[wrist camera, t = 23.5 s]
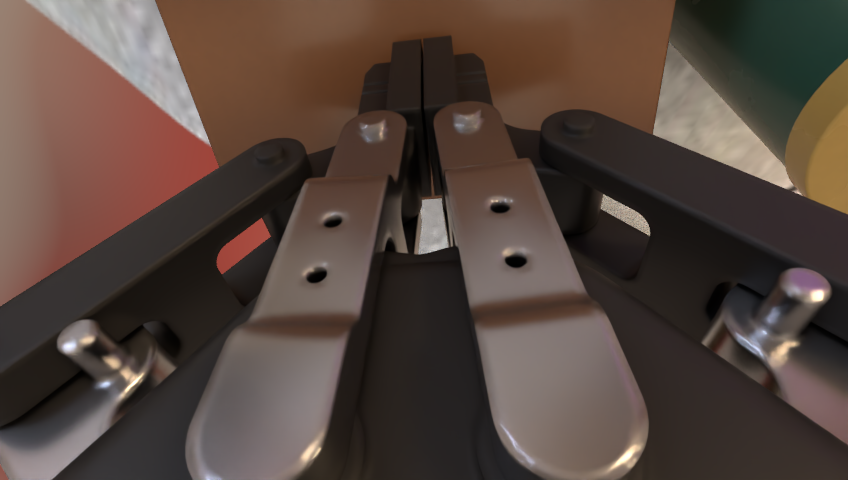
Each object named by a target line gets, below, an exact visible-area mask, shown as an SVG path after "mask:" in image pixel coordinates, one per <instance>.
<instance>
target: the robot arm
mask: <svg viewBox="0 0 848 480" xmlns="http://www.w3.org/2000/svg"><path fill="white" fill-rule="evenodd" d="M431 170H432V178H433V186H434V195H435V196H439V195H441V196H442V204H443V214H444V222H445V229H446V235H447V241H448V247H449V248H445V249H441V250H438V251H434V252H431V253H427V254H418V253H419V243H420V234H421V224H422V219H421V213H420V210H421V207H422V197H429V196H432V187H431ZM603 194H605V195H607V196H608V197H610V198H612V199H614V200H616V201H618V202H620V203H622V204H624V205H625V206H627V207H629V208H631V209H633V210H635V211H637V212H638V213H640V214H641V215H642V216H643V217H644V218H645V220H646V221H647V223H648V224H649V227H650V236H648V235H647V234H645V233H643V232H641V231H639V230H638V229H636V228H634V227H632V226H630V225H629V224H627V223H625V222H623V221H621V220H620V219H618V218H616V217H614V216H612V215H611V214H609V213H607V212H605V211H603V210H601V209H600V207H601V203H602V198H603ZM260 218H262V219H263V221H264V223H265V225H266V227H267V229H268V231H269V233H270V235H271V237H270V238H269V239H267V240H266V241H265V242H263V243H262V244H261V245H260V246H258V247H257V248H256V249H254V250H253V251H252V252H250V253H249V254H248V255H247V256H245V257H244V258H243V259H242V260H240V261H239V262H238V263H236V264H235V265H234V266H233V267H231V268H230V269H229V270H228V271H226V272H225V273H224V274H221V273H220V271H219V270H218V268H217V263H216V260H217V256H218V253H219V252H220V250H221V249H222V247H223V246H225V245H226V244H227V243H228V242H230V241H231V240H232V239H234V238H235V237H236V236H238V235H239V234H240V233H242V232H243V231H244V230H246V229H247V228H248V227H250V226H251V225H252V224H254V223H255V222H256V221H258V220H259V219H260ZM0 464H1V466H2V468H3V469H4V471H5V473H6V475H7V477H8V479H9V480H848V214H846V213H843V212H841V211H838V210H836V209H833V208H831V207H828V206H826V205H824V204H821V203H819V202H816V201H814V200H811V199H809V198H806V197H804V196H801V195H799V194H797V193H794V192H792V191H789V190H787V189H784V188H782V187H779V186H777V185H775V184H772V183H770V182H767V181H765V180H762V179H760V178H757V177H755V176H752V175H750V174H748V173H745V172H743V171H740V170H738V169H735V168H733V167H730V166H728V165H726V164H723V163H721V162H718V161H716V160H713V159H711V158H708V157H706V156H703V155H701V154H699V153H696V152H694V151H691V150H689V149H686V148H684V147H681V146H679V145H677V144H674V143H672V142H669V141H667V140H664V139H662V138H659V137H657V136H654V135H652V134H650V133H647V132H645V131H642V130H640V129H637V128H635V127H632V126H630V125H628V124H625V123H623V122H620V121H618V120H615V119H613V118H610V117H608V116H606V115H603V114H601V113H598V112H594V111H590V110H582V109H571V110H564V111H559V112H556V113H554V114H552V115H550V116H548V117H547V118H546V119H545V120H544V121H543V122H542V124H541V130H540V131H538V130H527V129H520V128H516V127H513V126H510V125H508V124H505V123H504V122H503V119H502V116H501V114H500V112H499V110H498V109H497V108H495V107H494V106H493V102H492V97H491V93H490V88H489V83H488V79H487V74H486V70H485V65H484V61H483V60H482V59H480V58H479V57H478V56H477V55H475V54H474V53H468V54H458V55H454V54H453V46H452V37H451V35H450V36H441V37H432V38H424V39H423V50H422V42H421V39H416V40H407V41H398V42H393V44H392V54H391V62H387V63H378V64H374V65H373V66H372V67H371V68H370V70H369V71H368V72H367V73H366V74H365V78H364V83H363V89H362V95H361V100H360V105H359V111H358V116H356V117H354V118H352V119H351V120H349V121H348V122H347V123H346V124H345V125H344V126H343V128H342V130H341V133H340V136H339V139H338V141H337V144H336V145H335V146H333V147H331V148H328V149H325V150H321V151H318V152H315V153H311V154H308V155H307V152H306V149H305V147H304V145H303V144H302V143H301V142H300V141H298V140H296V139H292V138H275V139H270V140H266V141H263V142H261V143H258V144H256V145H254V146H252V147H251V148H249V149H248V150H246V151H244V152H243V153H241V154H240V155H238V156H236V157H235V158H233V159H232V160H230V161H229V162H227V163H225V164H224V165H222V166H221V167H219V168H218V169H216V170H215V171H213V172H211V173H210V174H208V175H207V176H205V177H203V178H202V179H200V180H199V181H197V182H196V183H194V184H192V185H191V186H189V187H188V188H186V189H185V190H183V191H181V192H180V193H178V194H177V195H175V196H174V197H172V198H170V199H169V200H167V201H166V202H164V203H162V204H161V205H160V206H158V207H156V208H155V209H153V210H151V211H150V212H148V213H147V214H145V215H144V216H142V217H140V218H139V219H137V220H136V221H134V222H133V223H131V224H130V225H128V226H126V227H125V228H123V229H122V230H120V231H118V232H117V233H115V234H114V235H112V236H111V237H109V238H107V239H106V240H104V241H103V242H101V243H100V244H98V245H96V246H95V247H93V248H92V249H90V250H88V251H87V252H85V253H84V254H82V255H81V256H79V257H77V258H76V259H74V260H73V261H71V262H70V263H68V264H66V265H65V266H63V267H62V268H60V269H59V270H57V271H55V272H54V273H52V274H51V275H49V276H48V277H46V278H44V279H43V280H41V281H40V282H38V283H37V284H35V285H34V286H32V287H30V288H29V289H27V290H26V291H24V292H23V293H21V294H19V295H18V296H16V297H14V298H13V299H11V300H10V301H8V302H7V303H5V304H3V305H2V306H0Z"/></svg>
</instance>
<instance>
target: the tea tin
mask: <svg viewBox="0 0 848 480" xmlns="http://www.w3.org/2000/svg"><path fill="white" fill-rule="evenodd" d="M669 42H670V43H671V44H672V45H673V46H674V47H675V48H676V49H677V50H678V51H679V53H680V54H681V55H682V56H683V57H684V58H685V59H686V60H687V61H688V62H689V63H690V64H691V65H692V67H693V68H694V69H695V70H696V71H697V72H698V73H699V74H700V75H701V76H702V77H703V78H704V79H705V81H706V82H707V83H708V84H709V85H710V86H711V87H712V88H713V89H714V90H715V91H716V92H717V93H718V95H719V96H720V97H721V98H722V99H723V100H724V101H725V102H726V103H727V104H728V105H729V106H730V107H731V109H732V110H733V111H734V112H735V113H736V114H737V115H738V116H739V117H740V118H741V119H742V120H743V121H744V123H745V124H746V125H747V126H748V127H749V128H750V129H751V130H752V131H753V132H754V133H755V134H756V136H757V137H758V138H759V139H760V140H761V141H762V142H763V143H764V144H765V145H766V146H767V147H768V148H769V150H770V151H771V152H772V153H773V154H774V155H775V156H776V157H777V158H778V159H779V160H780V161H781V162H782V164H783V165H784V166H785V167H786V171H787V174H788V176H789V179H790V180H791V182H792V183H793V185H794V186H795V187H796V188H797V189H798V191H799V192H800V193H801V194H802V195H803V196H804V197H806V198H809V199H811V200H814V201H816V202H819V203H821V204H824V205H826V206H828V207H831V208H833V209H836V210H838V211H841V212H843V213H846V214H848V0H676V1H675V7H674V13H673V19H672V25H671V30H670V36H669Z"/></svg>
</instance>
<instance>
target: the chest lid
mask: <svg viewBox="0 0 848 480" xmlns="http://www.w3.org/2000/svg"><path fill="white" fill-rule="evenodd" d="M155 1H156V4H157V6H158V9H159V11H160V14H161V17H162V19H163V22H164V24H165V27H166V30H167V32H168V35H169V37H170V40H171V43H172V45H173V48H174V50H175V53H176V56H177V58H178V61H179V63H180V66H181V69H182V71H183V74H184V76H185V79H186V82H187V84H188V87H189V90H190V92H191V95H192V97H193V100H194V103H195V105H196V108H197V110H198V113H199V116H200V118H201V121H202V123H203V126H204V129H205V131H206V134H207V136H208V139H209V142H210V144H211V147H212V149H213V152H214V155H215V157H216V160H217V162H218V165H219V167H221V166H222V165H224V164H225V163H227V162H229V161H230V160H232V159H233V158H235V157H236V156H238V155H240V154H241V153H243V152H244V151H246V150H248V149H249V148H251V147H252V146H254V145H256V144H258V143H261V142H263V141H266V140H270V139H275V138H292V139H296V140H298V141H300V142H301V143H302V144H303V145H304V147H305V149H306V152H307V155H308V154H311V153H315V152H318V151H321V150H325V149H328V148H331V147H333V146H335V145H336V144H337V141H338V139H339V136H340V133H341V130H342V128H343V126H344V125H345V124H346V123H347V122H348V121H349V120H351V119H352V118H354V117H356V116H358V111H359V105H360V100H361V95H362V89H363V83H364V78H365V74H366V73H367V72H368V71H369V70H370V68H371V67H372V66H373V65H374V64H378V63H387V62H391V54H392V44H393V42H398V41H407V40H416V39H421V42H422V50H423V39H424V38H432V37H441V36H450V35H451V37H452V46H453V54H454V55H458V54H468V53H474V54H475V55H477V56H478V57H479V58H480V59H482V60H483V61H484V65H485V70H486V74H487V79H488V83H489V88H490V93H491V97H492V102H493V106H494V107H495V108H497V109H498V110H499V112H500V114H501V116H502V119H503V122H504V123H505V124H508V125H510V126H513V127H516V128H520V129H527V130H538V131H540V130H541V124H542V122H543V121H544V120H545V119H546V118H547V117H548V116H550V115H552V114H554V113H556V112H559V111H564V110H571V109H582V110H590V111H594V112H598V113H601V114H603V115H606V116H608V117H610V118H613V119H615V120H618V121H620V122H623V123H625V124H628V125H630V126H632V127H635V128H637V129H640V130H642V131H645V132H647V133H650V134H652V135H653V129H654V123H655V117H656V111H657V106H658V100H659V94H660V88H661V82H662V77H663V71H664V65H665V59H666V53H667V48H668V42H669V36H670V30H671V25H672V19H673V13H674V7H675V1H676V0H155ZM431 187H432V196H429V197H422V200H425V199H436V198H442V196H441V195H439V196H435V195H434V186H433V178H432V170H431Z"/></svg>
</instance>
